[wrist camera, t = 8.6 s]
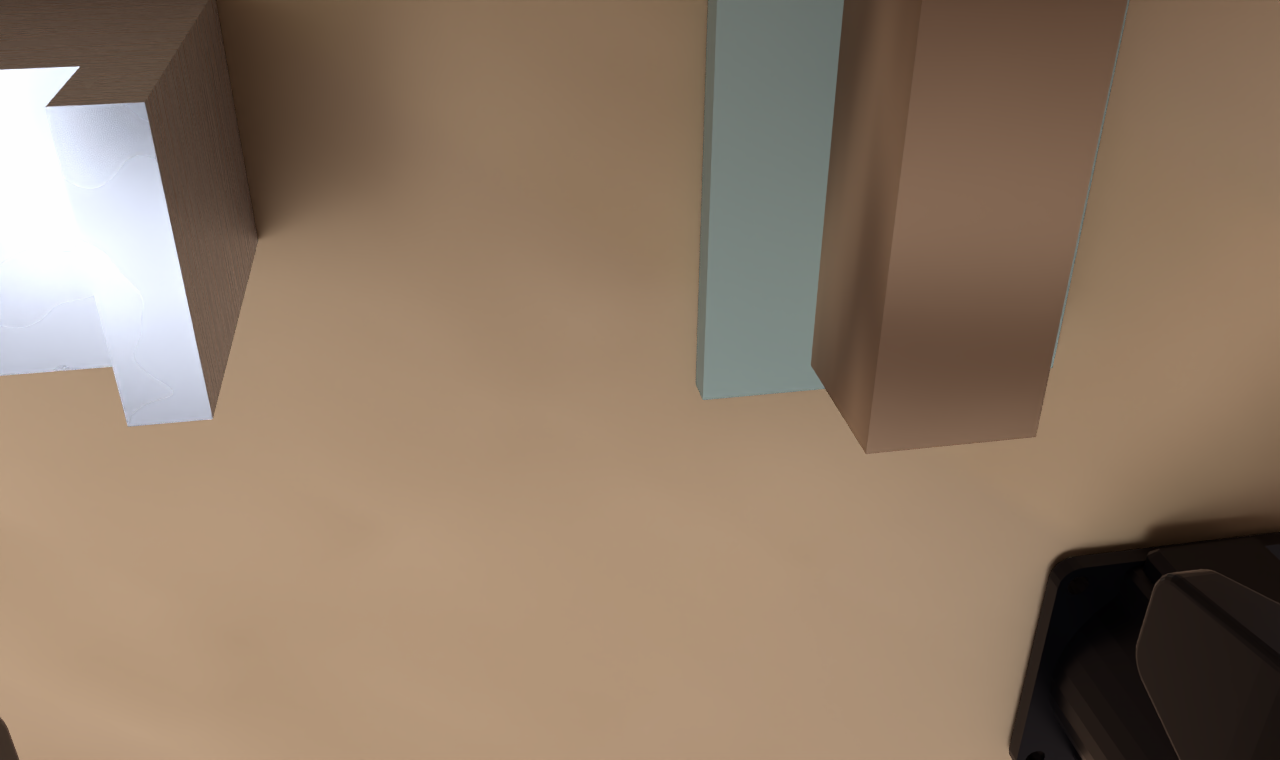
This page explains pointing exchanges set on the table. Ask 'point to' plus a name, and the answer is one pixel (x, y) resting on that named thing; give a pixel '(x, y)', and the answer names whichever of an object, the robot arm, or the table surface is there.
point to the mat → (768, 192)
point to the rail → (955, 210)
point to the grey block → (122, 199)
